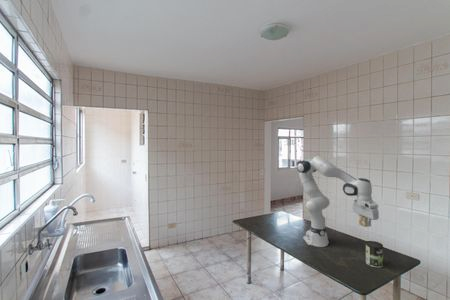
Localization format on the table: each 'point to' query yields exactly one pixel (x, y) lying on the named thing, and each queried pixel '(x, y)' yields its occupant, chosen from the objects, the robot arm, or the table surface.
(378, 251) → the coffee can
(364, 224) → the beech block
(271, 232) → the table surface
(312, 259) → the table surface
